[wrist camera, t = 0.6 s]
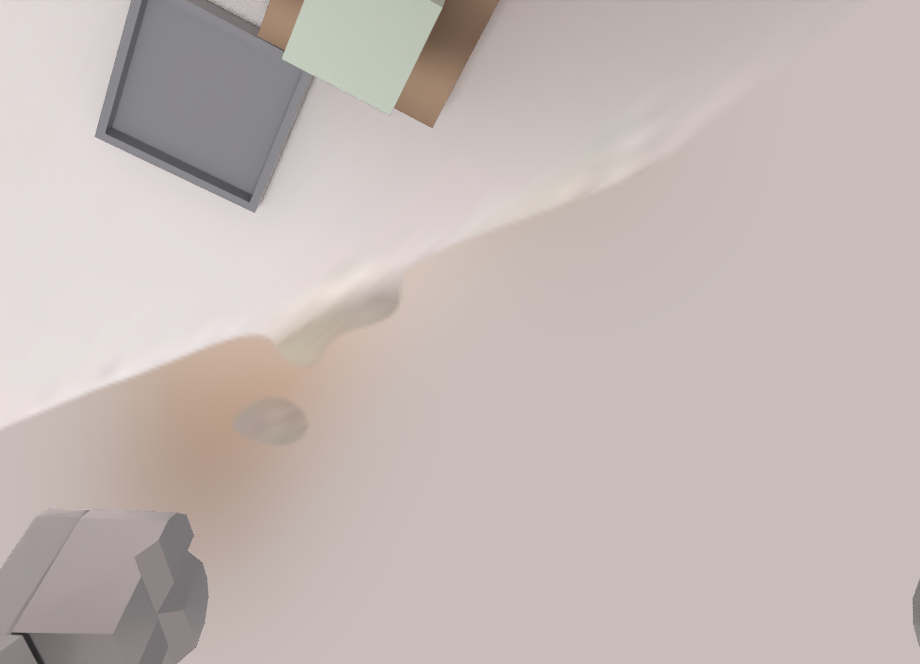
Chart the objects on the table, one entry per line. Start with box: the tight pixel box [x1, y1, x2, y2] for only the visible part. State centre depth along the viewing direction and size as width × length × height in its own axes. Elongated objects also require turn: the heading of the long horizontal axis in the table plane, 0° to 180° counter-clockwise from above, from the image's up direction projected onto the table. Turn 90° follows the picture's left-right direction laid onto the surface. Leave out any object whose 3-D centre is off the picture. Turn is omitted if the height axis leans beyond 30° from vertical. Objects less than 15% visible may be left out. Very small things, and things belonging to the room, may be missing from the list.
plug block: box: [282, 0, 445, 115], centre depth 36 cm, size 5×5×8 cm
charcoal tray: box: [95, 0, 314, 213], centre depth 46 cm, size 10×10×2 cm
